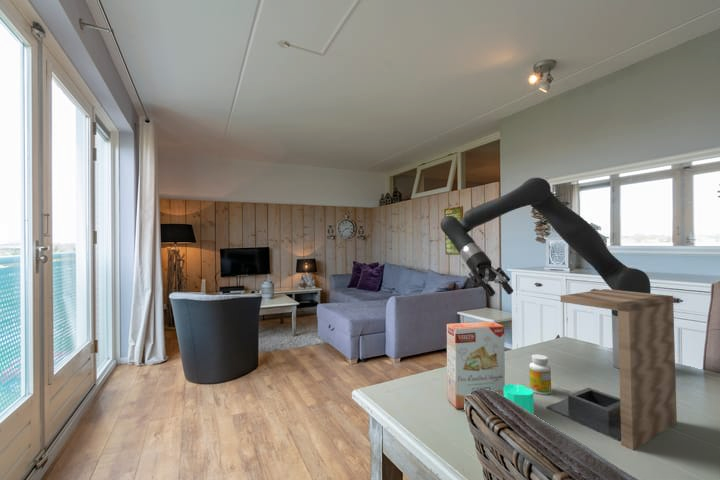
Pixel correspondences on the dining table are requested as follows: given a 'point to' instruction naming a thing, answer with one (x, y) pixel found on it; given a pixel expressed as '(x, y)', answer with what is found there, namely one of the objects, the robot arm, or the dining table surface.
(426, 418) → the dining table surface
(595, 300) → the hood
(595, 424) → the socket
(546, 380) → the supplement bottle
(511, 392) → the candle
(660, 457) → the dining table surface
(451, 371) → the cracker box
